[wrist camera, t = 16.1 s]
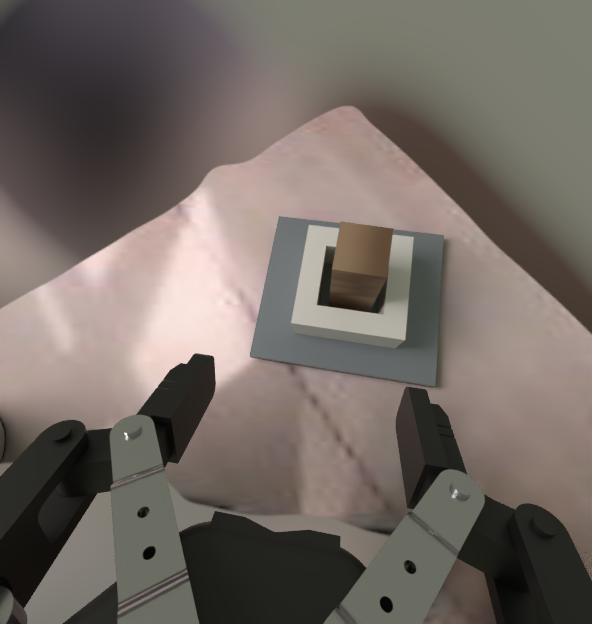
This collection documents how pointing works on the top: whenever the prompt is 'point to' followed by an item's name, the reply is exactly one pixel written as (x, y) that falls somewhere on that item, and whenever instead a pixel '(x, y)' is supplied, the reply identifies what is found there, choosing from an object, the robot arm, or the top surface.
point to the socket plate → (341, 353)
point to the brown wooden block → (359, 266)
